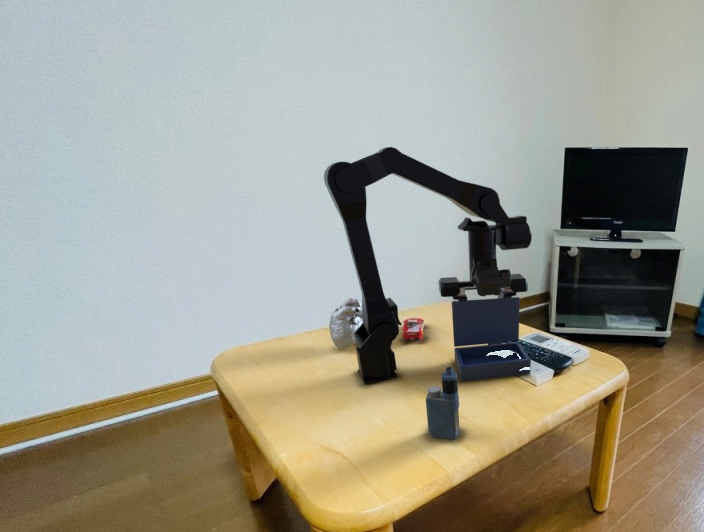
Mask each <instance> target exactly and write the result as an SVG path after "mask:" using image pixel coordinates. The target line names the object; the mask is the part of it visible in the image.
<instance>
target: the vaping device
mask: <svg viewBox="0 0 704 532" xmlns="http://www.w3.org/2000/svg"><path fill="white" fill-rule="evenodd" d="M440 377H441V387H440V386H437V385H432V386H429V387H428V388H427V394H426V398H425V409H426V420H427V429H428V433H429V435H430V436H431V437H432V438H439V439H446V440H456V439H458V437H459V436H460V432H461V431H460V415H459V414H460V412H459V408H460V395H459V383H458V381H459V379H458V371H455V370H453V367H452V366H446V367H445V369H444V371H442V372H441V375H440Z"/></svg>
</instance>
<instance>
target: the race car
mask: <svg viewBox="0 0 704 532" xmlns="http://www.w3.org/2000/svg"><path fill="white" fill-rule="evenodd" d="M401 323H403V327H402V331H401V335H402V341H404V342H414V341H423V340H424V336H425V335H424V334H425V319H423V318H421V317H410V318H406V319H404V320H403V321H402V322H401Z"/></svg>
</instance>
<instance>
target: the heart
mask: <svg viewBox="0 0 704 532" xmlns="http://www.w3.org/2000/svg"><path fill="white" fill-rule="evenodd" d="M362 323H363V315H362V302H361V301H360V300H359V299H357V298H350V297H349V298H347V299H346V300H345V301H344V302H342V304H341V305H340V306H339V307H336V308H334V310H332V312H331V314H330V318H329V325H328V328H329V333H330V338H331V341H332V343H333V344H334V346H335V348H336V350H340V351H341V350H342V351H343V350H345V349H347V348H350V347H351V346H353V345H355V344H357V341H356V339H355V337H354V332H355V331H356V330H357V329H358V328H359V327H360V325H361V324H362Z"/></svg>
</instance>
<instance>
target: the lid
mask: <svg viewBox="0 0 704 532" xmlns="http://www.w3.org/2000/svg"><path fill="white" fill-rule="evenodd" d="M520 299H521V298H520V297H519V296H512V297H511V298H498V297H496V298H483V299H482V298H481V299H467V300H465V301H458V300H452V301H451V314H452V315H451V316H452V317H451V318H452V333H453V335H452V336H453V347H454V348H459V347H470V346H481V345H492V344H503V343H513V342H519V341H520V303H521V300H520Z"/></svg>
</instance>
